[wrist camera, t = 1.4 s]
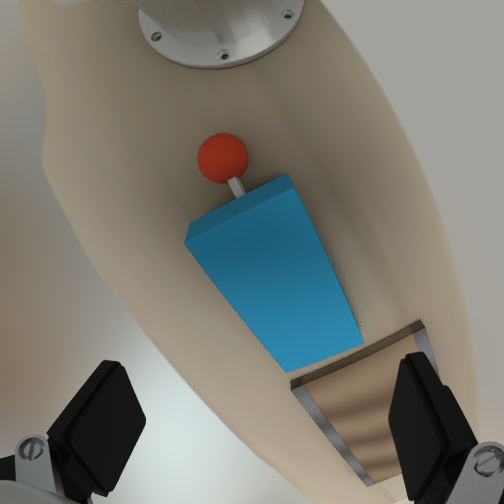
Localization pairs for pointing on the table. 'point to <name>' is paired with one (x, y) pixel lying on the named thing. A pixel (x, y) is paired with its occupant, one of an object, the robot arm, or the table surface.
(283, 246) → the lever
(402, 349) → the ribbed board
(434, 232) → the table surface
